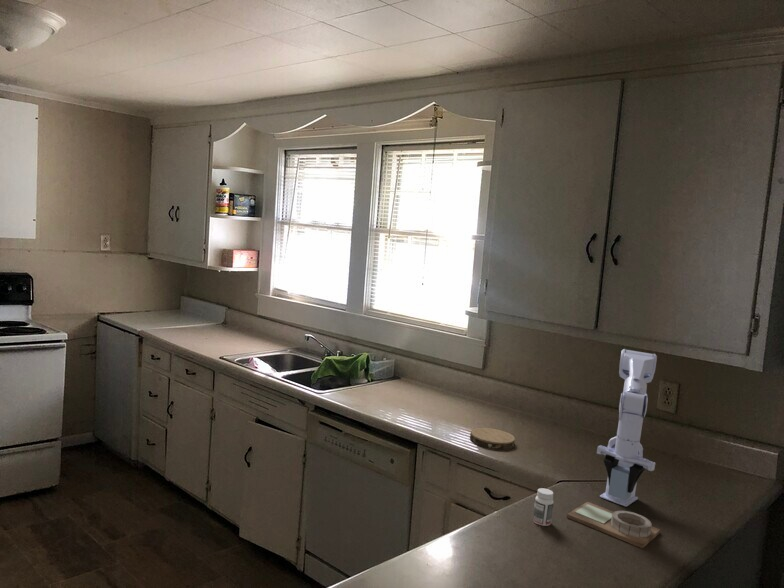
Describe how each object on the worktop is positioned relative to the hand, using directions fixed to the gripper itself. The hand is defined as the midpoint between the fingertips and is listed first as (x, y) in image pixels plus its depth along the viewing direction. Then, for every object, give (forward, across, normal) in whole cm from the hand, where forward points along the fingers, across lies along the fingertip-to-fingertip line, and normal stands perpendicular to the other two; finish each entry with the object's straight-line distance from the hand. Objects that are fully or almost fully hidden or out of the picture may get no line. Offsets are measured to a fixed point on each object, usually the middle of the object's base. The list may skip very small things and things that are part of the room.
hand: (620, 488), depth 159 cm
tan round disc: (+11, -57, +29) cm, 65 cm away
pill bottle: (+11, -14, -15) cm, 23 cm away
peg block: (+2, 0, 0) cm, 2 cm away
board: (+10, -1, 0) cm, 10 cm away
